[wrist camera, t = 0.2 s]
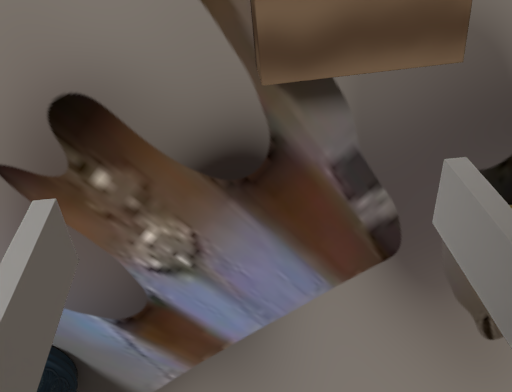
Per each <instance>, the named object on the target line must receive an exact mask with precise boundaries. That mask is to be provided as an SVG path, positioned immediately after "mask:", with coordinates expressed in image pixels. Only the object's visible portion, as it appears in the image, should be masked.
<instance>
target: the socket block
mask: <svg viewBox="0 0 512 392" xmlns="http://www.w3.org/2000/svg"><path fill="white" fill-rule="evenodd" d="M250 2H251V13H252V24H253V36H254V47H255V58H256V67H257V70H258V74H259V77H260V80H261V84H262V86H264V85H272V84H281V83H289V82H298V81H306V80H315V79H323V78H332V77H339V76H349V75H357V74H366V73H374V72H383V71H391V70H399V69H407V68H416V67H425V66H433V65H442V64H450V63H459V62H463V58H464V53H465V46H466V39H467V32H468V26H469V19H470V12H471V6H472V0H250Z"/></svg>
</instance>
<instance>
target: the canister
mask: <svg viewBox="0 0 512 392" xmlns="http://www.w3.org/2000/svg"><path fill="white" fill-rule="evenodd" d="M77 379H78V374H77V369H76V367H75V365H74V363H73V362H72V361H71V360H70V358H69V357H68V356H66V355H65V354H64V353H62V352H61V351H59V350H58V349H56V348H54V347H52V346H51V349H50V352H49V355H48V358H47V361H46V364H45V367H44V370H43V374H42V377H41V380H40V383H39V386H38V389H37V392H77V387H78V382H77Z"/></svg>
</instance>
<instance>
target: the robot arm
mask: <svg viewBox="0 0 512 392" xmlns="http://www.w3.org/2000/svg"><path fill="white" fill-rule="evenodd" d="M432 223H433V225H434V226H435V228H436V229H437V231H438V233H439V234H440V236H441V237H442V239H443V240H444V242H445V244H446V245H447V247H448V248H449V250H450V252H451V253H452V255H453V256H454V258H455V260H456V261H457V263H458V264H459V266H460V268H461V269H462V271H463V272H464V274H465V276H466V277H467V279H468V280H469V282H470V284H471V285H472V287H473V288H474V290H475V292H476V293H477V295H478V296H479V298H480V299H481V301H482V303H483V304H484V306H485V307H486V309H487V311H488V312H489V314H490V315H491V317H492V319H493V320H494V322H495V323H496V325H497V327H498V328H499V330H500V331H501V333H502V335H503V336H504V338H505V339H506V341H507V343H508V344H509V346H510V347H511V349H512V208H511V207H510V206H509V205H508V204H507V202H506V201H505V200H504V199H503V198H502V197H501V196H500V195H499V193H498V192H497V191H496V190H495V189H494V188H493V187H492V185H491V184H490V183H489V182H488V181H487V180H486V179H485V178H484V176H483V175H482V174H481V173H480V172H479V171H478V170H477V169H476V167H475V166H474V165H473V164H472V163H471V162H470V161H469V160H468V158H467V157H461V158H451V159H445V160H444V163H443V169H442V174H441V179H440V184H439V190H438V195H437V201H436V205H435V211H434V217H433V221H432ZM78 262H79V258H78V255H77V253H76V250H75V247H74V245H73V242H72V239H71V237H70V234H69V232H68V229H67V226H66V224H65V221H64V218H63V216H62V213H61V210H60V208H59V205H58V203H57V200H56V199H46V200H36V201H32V203H31V205H30V207H29V209H28V211H27V213H26V215H25V217H24V219H23V221H22V223H21V225H20V226H19V228H18V230H17V232H16V234H15V236H14V238H13V240H12V242H11V244H10V246H9V248H8V250H7V252H6V254H5V256H4V258H3V259H2V261H1V263H0V392H37V389H38V386H39V383H40V380H41V377H42V374H43V370H44V367H45V364H46V361H47V358H48V355H49V352H50V349H51V346H52V343H53V339H54V336H55V333H56V330H57V327H58V324H59V321H60V318H61V315H62V311H63V308H64V305H65V302H66V299H67V296H68V293H69V290H70V287H71V283H72V280H73V277H74V274H75V271H76V268H77V265H78Z"/></svg>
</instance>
